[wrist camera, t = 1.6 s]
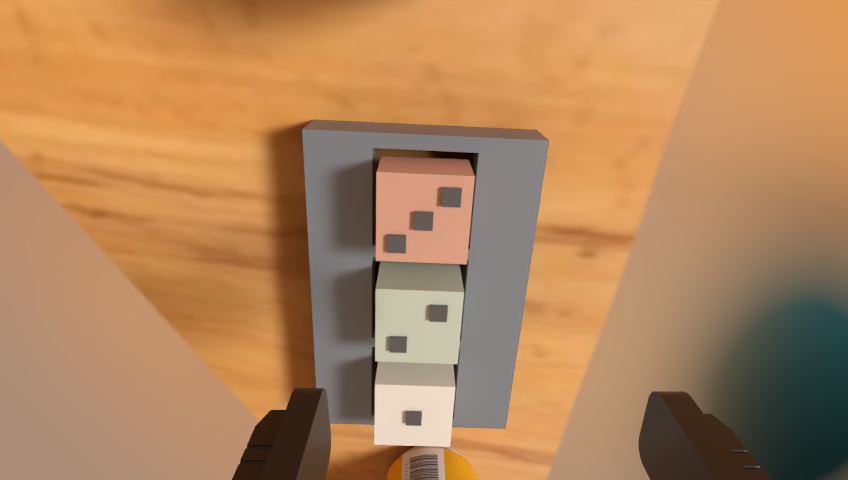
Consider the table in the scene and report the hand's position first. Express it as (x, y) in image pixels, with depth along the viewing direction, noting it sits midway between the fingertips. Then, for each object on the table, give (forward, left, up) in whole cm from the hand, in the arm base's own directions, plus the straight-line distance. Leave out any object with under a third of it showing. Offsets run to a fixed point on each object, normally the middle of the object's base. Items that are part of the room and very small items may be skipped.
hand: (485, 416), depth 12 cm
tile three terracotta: (-2, +1, -12) cm, 13 cm away
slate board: (-2, -4, -15) cm, 15 cm away
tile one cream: (-2, -9, -12) cm, 16 cm away
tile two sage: (-2, -4, -12) cm, 13 cm away
